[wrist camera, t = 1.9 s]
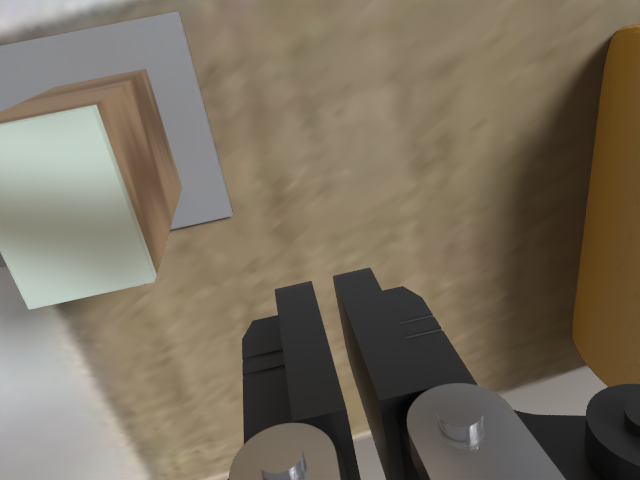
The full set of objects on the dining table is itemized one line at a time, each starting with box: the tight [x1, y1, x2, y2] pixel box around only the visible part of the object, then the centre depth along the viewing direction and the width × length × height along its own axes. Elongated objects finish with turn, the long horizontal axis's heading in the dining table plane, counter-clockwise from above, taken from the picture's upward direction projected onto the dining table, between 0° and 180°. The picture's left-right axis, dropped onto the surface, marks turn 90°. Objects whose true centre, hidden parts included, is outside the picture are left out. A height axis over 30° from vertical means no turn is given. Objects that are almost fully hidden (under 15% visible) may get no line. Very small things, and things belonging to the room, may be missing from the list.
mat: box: [0, 11, 233, 267], centre depth 30 cm, size 12×22×1 cm, turn 100°
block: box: [0, 69, 182, 310], centre depth 25 cm, size 7×5×12 cm
